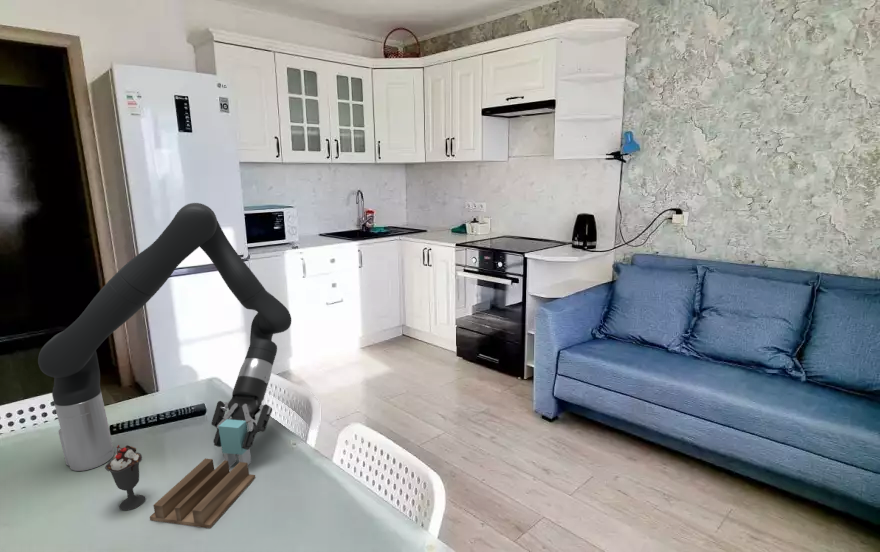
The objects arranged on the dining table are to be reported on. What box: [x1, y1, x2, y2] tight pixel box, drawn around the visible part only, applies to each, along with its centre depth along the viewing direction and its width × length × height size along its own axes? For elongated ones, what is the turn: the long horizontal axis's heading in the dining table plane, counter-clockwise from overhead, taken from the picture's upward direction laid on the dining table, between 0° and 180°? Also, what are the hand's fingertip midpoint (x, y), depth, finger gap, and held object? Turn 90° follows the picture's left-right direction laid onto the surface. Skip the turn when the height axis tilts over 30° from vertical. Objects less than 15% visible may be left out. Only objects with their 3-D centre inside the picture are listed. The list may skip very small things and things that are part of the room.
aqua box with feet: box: [218, 419, 252, 469], centre depth 117 cm, size 5×3×11 cm, turn 78°
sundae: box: [104, 444, 147, 512], centre depth 104 cm, size 7×7×15 cm
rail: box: [149, 457, 256, 529], centre depth 106 cm, size 14×16×4 cm
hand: (231, 447), depth 115 cm, fingers open, 7 cm apart
